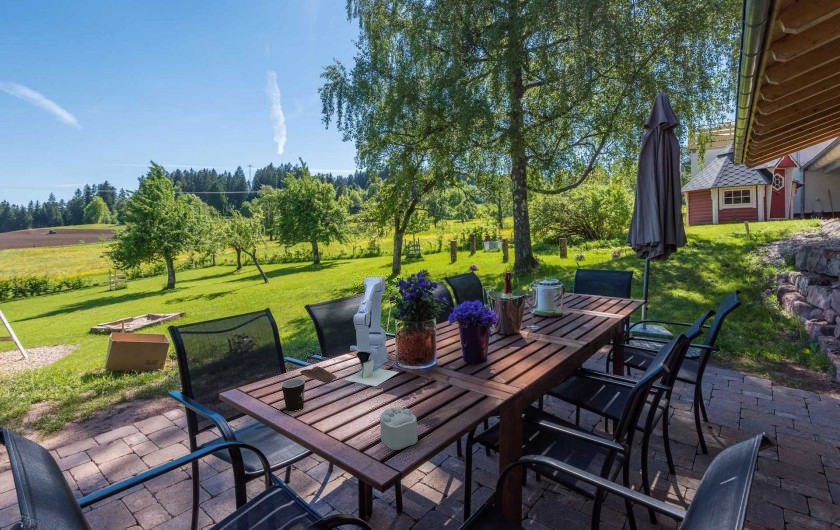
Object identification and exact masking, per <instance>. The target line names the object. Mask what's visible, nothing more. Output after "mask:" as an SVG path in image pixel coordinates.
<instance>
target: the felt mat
mask: <svg viewBox="0 0 840 530" xmlns="http://www.w3.org/2000/svg"><path fill="white" fill-rule="evenodd" d="M397 374H399V371H395V370H389V369H382V368H381V369H380V370H378V371H376V372H375V373H372V375H370V376H368V377H366V378H365V379H364V378H362V370H360V371H357V373H354V374H351V376H348V377H346V378H345V379H343V380H344V381H349V382H351V383H352V382H353V383H358V384H363V385H368V386H373V387H378V385H380V384H382V383H383V382H385V381H387V380H389V379H390V378H392V377H393V376H396V375H397Z"/></svg>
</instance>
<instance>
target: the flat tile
mask: <svg viewBox="0 0 840 530" xmlns="http://www.w3.org/2000/svg"><path fill="white" fill-rule="evenodd" d="M380 369H382V368H381V365H380V366H378V365H373V373H375V372H376V371H378V370H380ZM360 371H362V367H361V370H360Z"/></svg>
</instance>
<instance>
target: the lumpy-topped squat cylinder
mask: <svg viewBox="0 0 840 530" xmlns="http://www.w3.org/2000/svg"><path fill="white" fill-rule="evenodd" d="M379 416H380V418H379V419H380V420H379V421H380V422H379V423H380V424H379V425H380V426H379V427H380V440H381V442H382V443H383V444H384V445H385V446H386V447H388V448H389V449H390V450H394V451H396V450H397V451H399V450H402V449H404V448H407V447H409V446H412V445H415V444H417V443H418V423H417V417H416V416H415V415H414V414H413V413H412V410H411V409H409V408H399V407H398V406H397V407H396V406H395V407H393V408H392V407H391V408H388V409H386V410H383V412H381V414H380V415H379Z"/></svg>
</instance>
